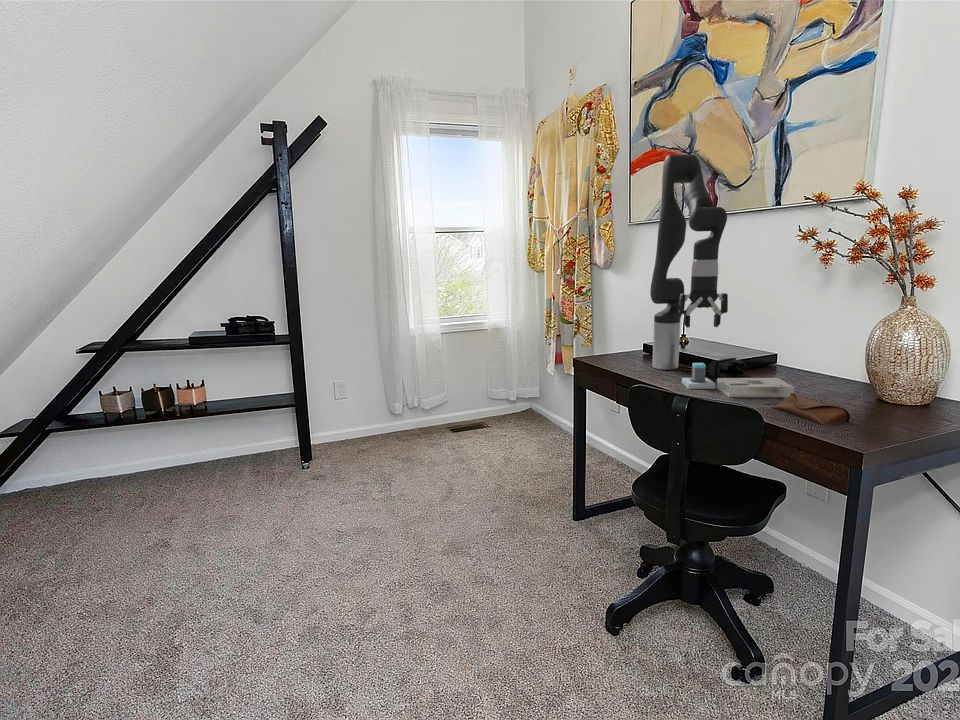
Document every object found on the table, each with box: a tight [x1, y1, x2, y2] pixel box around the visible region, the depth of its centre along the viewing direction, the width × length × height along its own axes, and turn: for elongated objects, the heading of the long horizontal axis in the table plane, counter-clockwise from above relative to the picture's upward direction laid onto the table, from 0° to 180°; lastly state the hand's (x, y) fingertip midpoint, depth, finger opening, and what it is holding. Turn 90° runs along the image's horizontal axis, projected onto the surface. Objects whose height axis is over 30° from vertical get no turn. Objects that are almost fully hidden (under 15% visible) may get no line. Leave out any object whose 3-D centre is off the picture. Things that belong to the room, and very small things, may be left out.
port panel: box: [716, 377, 795, 399], centre depth 164 cm, size 18×11×4 cm, turn 84°
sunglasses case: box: [770, 393, 851, 426], centre depth 145 cm, size 18×7×7 cm, turn 19°
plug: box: [691, 362, 707, 383], centre depth 172 cm, size 3×3×7 cm
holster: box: [681, 377, 716, 390], centre depth 173 cm, size 8×8×2 cm
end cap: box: [707, 357, 746, 378], centre depth 184 cm, size 10×7×7 cm
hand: (701, 327), depth 169 cm, fingers open, 8 cm apart
